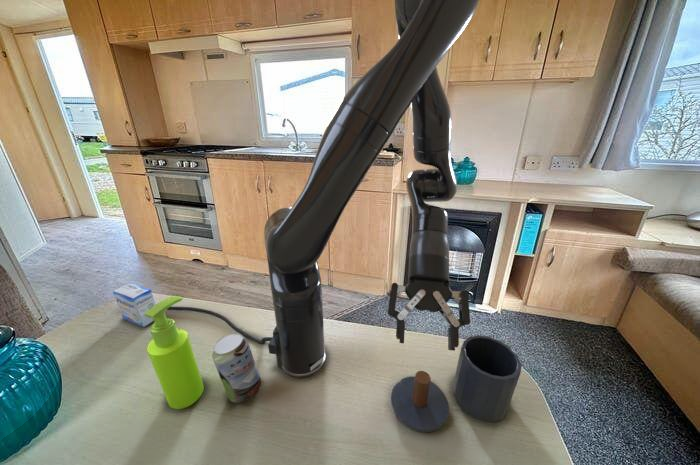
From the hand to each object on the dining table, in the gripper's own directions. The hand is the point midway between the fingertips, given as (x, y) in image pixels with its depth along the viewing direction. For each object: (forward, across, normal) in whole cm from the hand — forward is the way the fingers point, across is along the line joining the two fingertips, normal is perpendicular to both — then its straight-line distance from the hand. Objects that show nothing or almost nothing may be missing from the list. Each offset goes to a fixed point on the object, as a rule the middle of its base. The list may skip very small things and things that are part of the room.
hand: (426, 346), depth 48 cm
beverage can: (+12, -33, +4) cm, 36 cm away
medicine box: (+3, -69, +14) cm, 71 cm away
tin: (+7, +11, +8) cm, 15 cm away
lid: (+10, 0, +5) cm, 11 cm away
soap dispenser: (+14, -43, +2) cm, 45 cm away
